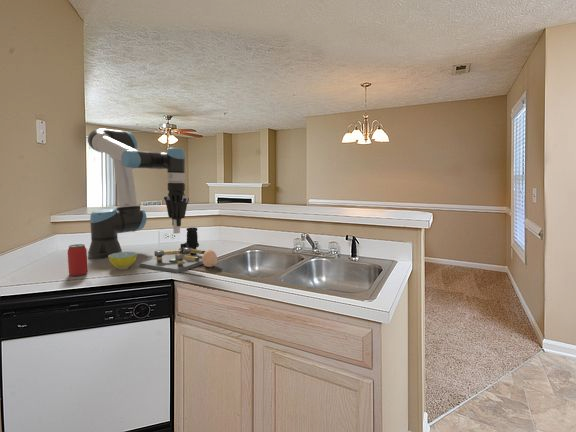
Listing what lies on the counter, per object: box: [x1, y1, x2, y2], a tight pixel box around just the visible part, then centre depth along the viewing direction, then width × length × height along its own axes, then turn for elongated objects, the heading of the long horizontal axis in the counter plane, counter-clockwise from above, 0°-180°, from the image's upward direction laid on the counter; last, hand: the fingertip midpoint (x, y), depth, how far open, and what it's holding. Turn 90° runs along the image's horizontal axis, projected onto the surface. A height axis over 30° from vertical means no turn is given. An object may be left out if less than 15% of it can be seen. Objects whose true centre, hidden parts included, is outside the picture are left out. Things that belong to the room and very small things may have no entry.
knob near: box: [153, 249, 183, 262], centre depth 155 cm, size 12×4×5 cm, turn 111°
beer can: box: [67, 243, 89, 277], centre depth 137 cm, size 7×7×12 cm
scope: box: [178, 227, 200, 256], centre depth 176 cm, size 8×14×10 cm
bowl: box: [107, 251, 138, 271], centre depth 148 cm, size 11×12×6 cm
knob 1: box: [183, 247, 206, 256], centre depth 159 cm, size 12×4×5 cm, turn 66°
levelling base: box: [138, 254, 204, 274], centre depth 155 cm, size 22×20×2 cm
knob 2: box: [174, 254, 200, 266], centre depth 146 cm, size 12×4×5 cm, turn 66°
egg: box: [201, 249, 218, 268], centre depth 152 cm, size 7×7×8 cm
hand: (176, 232), depth 157 cm, fingers closed
